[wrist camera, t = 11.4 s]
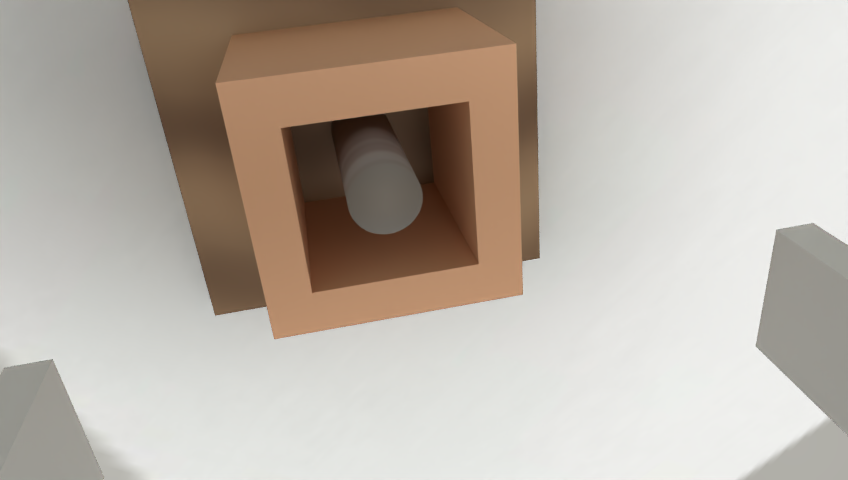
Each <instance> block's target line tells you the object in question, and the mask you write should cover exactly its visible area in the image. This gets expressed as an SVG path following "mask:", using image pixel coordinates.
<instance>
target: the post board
mask: <svg viewBox="0 0 848 480" xmlns="http://www.w3.org/2000/svg"><path fill="white" fill-rule="evenodd" d="M128 3H129V7H130V10H131V14H132V18H133V21H134V25H135V28H136V32H137V36H138V39H139V43H140V46H141V50H142V54H143V57H144V61H145V64H146V68H147V72H148V75H149V79H150V82H151V86H152V90H153V93H154V97H155V100H156V104H157V108H158V111H159V115H160V118H161V122H162V126H163V129H164V133H165V136H166V140H167V144H168V147H169V151H170V154H171V158H172V162H173V165H174V169H175V172H176V176H177V180H178V183H179V187H180V190H181V194H182V198H183V201H184V205H185V208H186V212H187V216H188V219H189V223H190V226H191V230H192V234H193V237H194V241H195V244H196V248H197V252H198V255H199V259H200V262H201V266H202V270H203V273H204V277H205V280H206V284H207V288H208V291H209V295H210V298H211V302H212V306H213V309H214V313H215V315H221V314H226V313H232V312H238V311H243V310H249V309H255V308H260V307H266V306H267V305H266V301H265V297H264V292H263V288H262V284H261V279H260V275H259V271H258V266H257V262H256V258H255V253H254V249H253V244H252V240H251V236H250V231H249V227H248V223H247V218H246V214H245V210H244V205H243V201H242V197H241V192H240V188H239V184H238V179H237V175H236V171H235V166H234V162H233V158H232V153H231V149H230V145H229V140H228V136H227V132H226V127H225V123H224V119H223V114H222V110H221V106H220V101H219V97H218V93H217V88H216V84H215V83H216V80H217V77H218V74H219V71H220V68H221V65H222V63H223V60H224V57H225V54H226V51H227V48H228V45H229V42H230V39H231V36H232V35H237V34H245V33H253V32H261V31H269V30H277V29H285V28H294V27H302V26H310V25H318V24H326V23H334V22H342V21H350V20H358V19H366V18H374V17H383V16H391V15H399V14H407V13H415V12H423V11H431V10H439V9H447V8H455V7H458V8H459V9H461V10H462V11H464V12H466V13H467V14H469V15H471V16H472V17H474V18H475V19H477V20H479V21H480V22H482V23H484V24H485V25H487V26H488V27H490V28H492V29H493V30H495V31H497V32H498V33H500V34H502V35H503V36H505V37H506V38H508V39H510V40H511V41H513V42H515V43H516V47H517V86H518V125H519V164H520V203H521V242H522V261H526V260H532V259H537V258H540V253H539V190H538V127H537V64H536V1H535V0H128ZM291 132H292V138H293V143H294V148H295V154H296V159H297V165H298V170H299V175H300V181H301V186H302V192H303V197H304V202H311V201H318V200H324V199H330V198H337V197H343V196H346V200H347V205H348V209H349V212H350V215H351V217H352V218H353V220H354V221H355V222H356V223H357V224H358V225H359V226H360V227H361V228H363V229H364V230H366V231H369V232H371V233H375V234H391V233H395V232H398V231H400V230H402V229H404V228H406V227H407V226H408V225H410V224H411V223H412V222H413V221H414V220H415V218H416V217H417V216H418V214H419V212H420V209H421V206H422V202H423V193H422V188H421V185H420V184H427V183H433V182H434V176H433V164H432V153H431V142H430V130H429V119H428V108H427V107H426V108H419V109H412V110H405V111H398V112H391V113H383V114H376V115H369V116H362V117H355V118H348V119H341V120H334V121H327V122H320V123H313V124H306V125H299V126H292V127H291Z"/></svg>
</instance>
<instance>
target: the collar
mask: <svg viewBox="0 0 848 480" xmlns="http://www.w3.org/2000/svg"><path fill="white" fill-rule="evenodd" d="M215 84H216V88H217V93H218V97H219V101H220V106H221V110H222V114H223V119H224V123H225V127H226V132H227V136H228V140H229V145H230V149H231V153H232V158H233V162H234V166H235V171H236V175H237V179H238V184H239V188H240V192H241V197H242V201H243V205H244V210H245V214H246V218H247V223H248V227H249V231H250V236H251V240H252V244H253V249H254V253H255V258H256V262H257V266H258V271H259V275H260V279H261V284H262V288H263V292H264V297H265V301H266V305H267V310H268V314H269V318H270V323H271V327H272V331H273V336H274V339H278V338H284V337H289V336H295V335H301V334H306V333H312V332H317V331H323V330H328V329H334V328H339V327H345V326H351V325H356V324H362V323H367V322H373V321H378V320H384V319H389V318H395V317H401V316H406V315H412V314H417V313H423V312H428V311H434V310H439V309H445V308H450V307H456V306H462V305H467V304H473V303H478V302H484V301H489V300H495V299H500V298H506V297H512V296H517V295H523V281H522V242H521V203H520V164H519V125H518V86H517V47H516V43H515V42H513V41H511V40H510V39H508V38H506V37H505V36H503V35H502V34H500V33H498V32H497V31H495V30H493V29H492V28H490V27H488V26H487V25H485V24H484V23H482V22H480V21H479V20H477V19H475V18H474V17H472V16H471V15H469V14H467V13H466V12H464V11H462V10H461V9H459V8H458V7H455V8H447V9H439V10H431V11H423V12H415V13H407V14H399V15H391V16H383V17H374V18H366V19H358V20H350V21H342V22H334V23H326V24H318V25H310V26H302V27H294V28H285V29H277V30H269V31H261V32H253V33H245V34H237V35H232V36H231V39H230V42H229V45H228V48H227V51H226V54H225V57H224V60H223V63H222V65H221V68H220V71H219V74H218V77H217V80H216V83H215ZM426 107H427V108H428V119H429V130H430V142H431V153H432V164H433V176H434V182H433V183H427V184H420V185H421V188H422V193H423V202H422V206H421V209H420V212H419V214H418V216H417V217H416V218H415V220H414V221H413V222H412V223H411V224H410V225H408V226H407V227H406V228H404V229H402V230H400V231H398V232H395V233H391V234H375V233H371V232H369V231H366V230H364V229H363V228H361V227H360V226H359V225H358V224H357V223H356V222H355V221H354V220H353V218H352V217H351V215H350V212H349V209H348V205H347V200H346V196H343V197H337V198H330V199H324V200H318V201H311V202H304V197H303V192H302V186H301V181H300V175H299V170H298V165H297V159H296V154H295V148H294V143H293V138H292V132H291V127H292V126H299V125H306V124H313V123H320V122H327V121H334V120H341V119H348V118H355V117H362V116H369V115H376V114H383V113H391V112H398V111H405V110H412V109H419V108H426Z"/></svg>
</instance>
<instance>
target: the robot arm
mask: <svg viewBox="0 0 848 480" xmlns="http://www.w3.org/2000/svg"><path fill="white" fill-rule="evenodd" d="M756 347H757V348H758V349H759V350H760V351H761V352H762V353H763V354H764V355H765V356H766V357H767V358H768V359H769V360H770V361H771V362H772V363H773V364H775V365H776V366H777V367H778V368H779V369H780V370H781V371H782V372H783V373H784V374H785V375H786V376H787V377H788V378H789V379H790V380H791V381H792V382H793V383H794V384H795V385H796V386H797V387H798V388H799V389H800V390H801V391H802V392H803V393H804V394H805V395H806V396H807V397H808V398H810V399H811V400H812V401H813V402H814V403H815V404H816V405H817V406H818V407H819V408H820V409H821V410H822V411H823V412H824V413H825V414H826V415H827V416H828V417H829V418H830V419H831V420H832V421H833V422H834V423H835V424H836V425H837V426H838V427H839V428H840V429H841V430H842V431H844V432H845V433H846V434H847V435H848V245H847V244H845V243H843V242H842V241H840V240H839V239H837V238H836V237H834V236H832V235H831V234H829V233H828V232H826V231H825V230H823V229H822V228H820V227H818V226H817V225H815V224H814V223H811V224H806V225H800V226H794V227H789V228H783V229H778V230H776V235H775V241H774V246H773V252H772V257H771V263H770V269H769V274H768V280H767V285H766V291H765V297H764V302H763V308H762V314H761V319H760V325H759V330H758V336H757V342H756ZM103 479H104V476H103V474H102V471H101V469H100V467H99V464H98V462H97V460H96V458H95V456H94V453H93V451H92V448H91V446H90V444H89V441H88V439H87V437H86V435H85V432H84V430H83V428H82V425H81V423H80V421H79V419H78V416H77V414H76V412H75V409H74V407H73V405H72V403H71V400H70V398H69V396H68V393H67V391H66V389H65V387H64V384H63V382H62V380H61V377H60V375H59V373H58V371H57V368H56V366H55V364H54V361H53V359H51V360H46V361H40V362H34V363H29V364H23V365H18V366H12V367H6V368H4V369H3V370H2V372H1V374H0V480H103Z"/></svg>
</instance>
